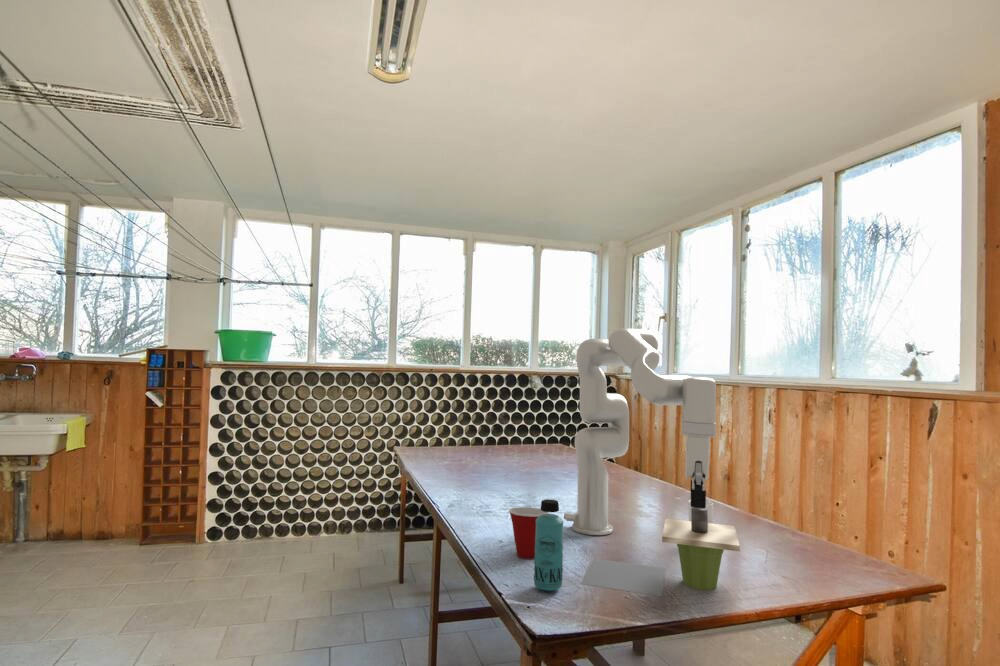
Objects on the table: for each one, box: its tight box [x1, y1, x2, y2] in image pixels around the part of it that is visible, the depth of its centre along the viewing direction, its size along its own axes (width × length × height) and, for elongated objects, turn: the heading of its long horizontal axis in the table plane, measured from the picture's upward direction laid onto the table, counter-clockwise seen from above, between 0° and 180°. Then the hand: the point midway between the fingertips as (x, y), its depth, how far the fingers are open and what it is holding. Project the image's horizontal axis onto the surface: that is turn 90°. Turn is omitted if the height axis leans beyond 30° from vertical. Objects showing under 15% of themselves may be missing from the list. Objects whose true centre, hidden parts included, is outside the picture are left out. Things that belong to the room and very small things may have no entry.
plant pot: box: [676, 544, 725, 591], centre depth 123 cm, size 12×12×11 cm
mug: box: [687, 499, 714, 524], centre depth 155 cm, size 10×7×12 cm, turn 149°
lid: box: [661, 507, 741, 552], centre depth 124 cm, size 16×16×6 cm
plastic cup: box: [508, 506, 550, 560], centre depth 142 cm, size 11×11×12 cm
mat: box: [580, 557, 666, 598], centre depth 127 cm, size 18×18×1 cm
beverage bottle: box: [533, 498, 564, 591], centre depth 119 cm, size 6×7×20 cm
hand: (697, 502), depth 125 cm, fingers open, 9 cm apart
